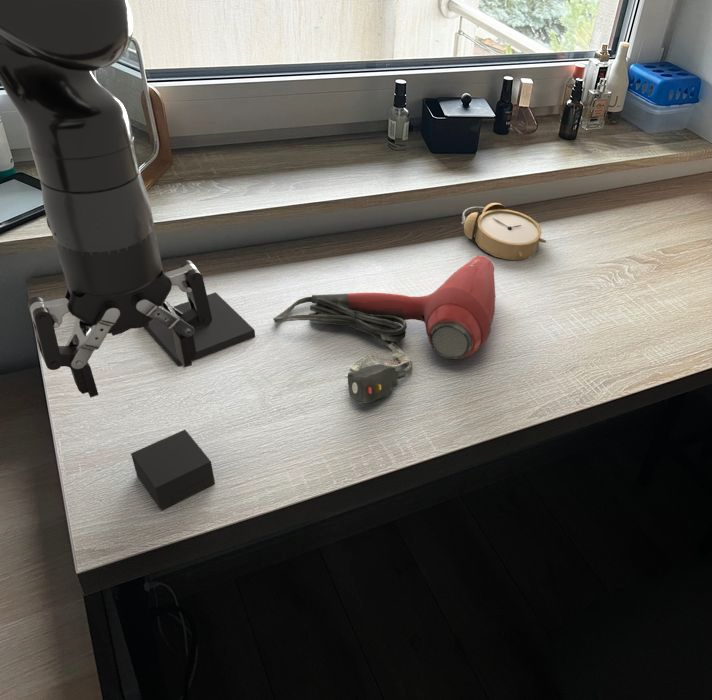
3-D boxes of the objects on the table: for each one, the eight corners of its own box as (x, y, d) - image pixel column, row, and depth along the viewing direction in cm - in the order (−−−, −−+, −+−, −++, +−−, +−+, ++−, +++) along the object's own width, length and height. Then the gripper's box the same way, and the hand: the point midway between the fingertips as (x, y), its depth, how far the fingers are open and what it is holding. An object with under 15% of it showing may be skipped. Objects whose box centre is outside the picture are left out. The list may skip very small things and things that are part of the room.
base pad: (178, 366, 93) (175, 350, 91) (141, 324, 99) (138, 309, 97) (255, 336, 99) (253, 321, 97) (216, 298, 105) (214, 283, 103)
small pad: (161, 510, 75) (155, 488, 73) (136, 476, 78) (130, 453, 76) (215, 484, 79) (211, 461, 76) (189, 451, 82) (185, 429, 80)
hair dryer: (448, 258, 120) (453, 209, 115) (550, 337, 105) (561, 286, 100) (262, 316, 103) (257, 262, 97) (354, 421, 88) (354, 365, 83)
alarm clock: (518, 253, 118) (450, 206, 123) (509, 276, 121) (444, 229, 126) (555, 231, 125) (490, 187, 130) (546, 253, 128) (483, 209, 133)
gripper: (14, 269, 53) (69, 427, 63) (207, 225, 60) (228, 374, 70) (-6, 223, 57) (48, 378, 67) (175, 188, 64) (200, 333, 74)
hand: (140, 376), depth 68 cm, fingers open, 8 cm apart
